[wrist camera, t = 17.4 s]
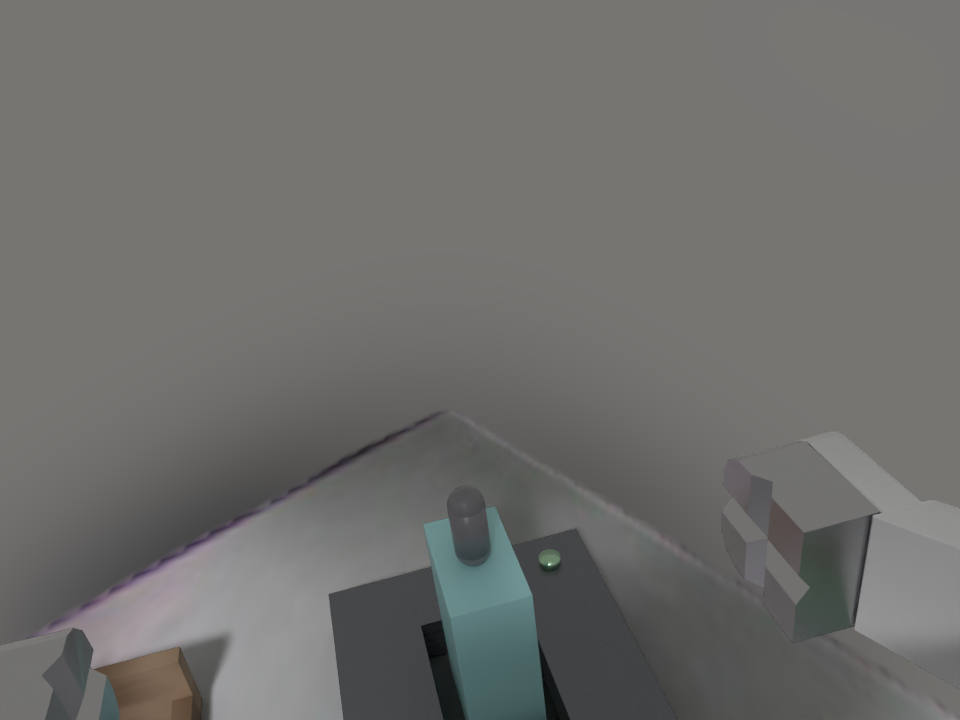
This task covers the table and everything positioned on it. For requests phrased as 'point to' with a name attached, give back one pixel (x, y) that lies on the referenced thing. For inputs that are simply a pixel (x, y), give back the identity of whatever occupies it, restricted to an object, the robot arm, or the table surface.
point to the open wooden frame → (155, 687)
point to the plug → (485, 612)
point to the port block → (560, 632)
